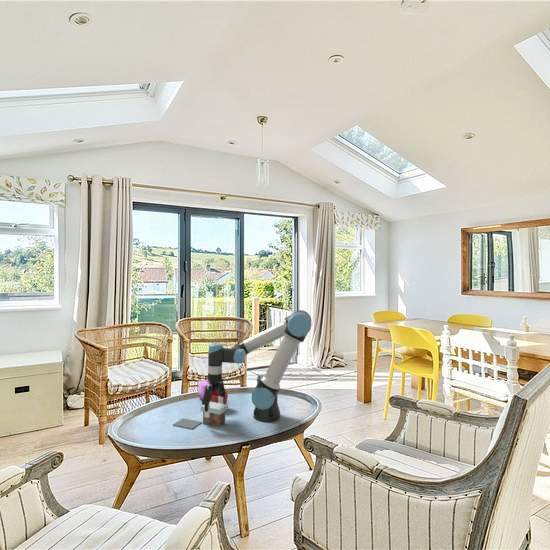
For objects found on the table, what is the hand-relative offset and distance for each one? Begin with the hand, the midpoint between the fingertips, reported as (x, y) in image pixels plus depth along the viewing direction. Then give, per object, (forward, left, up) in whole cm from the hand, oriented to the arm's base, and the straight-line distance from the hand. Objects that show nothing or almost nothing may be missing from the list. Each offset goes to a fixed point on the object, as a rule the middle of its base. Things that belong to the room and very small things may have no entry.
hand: (213, 412), depth 197 cm
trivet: (+12, +7, -6) cm, 15 cm away
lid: (0, 0, +1) cm, 1 cm away
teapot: (+21, -29, -6) cm, 36 cm away
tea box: (0, 0, -6) cm, 6 cm away
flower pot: (+8, -18, -6) cm, 21 cm away
